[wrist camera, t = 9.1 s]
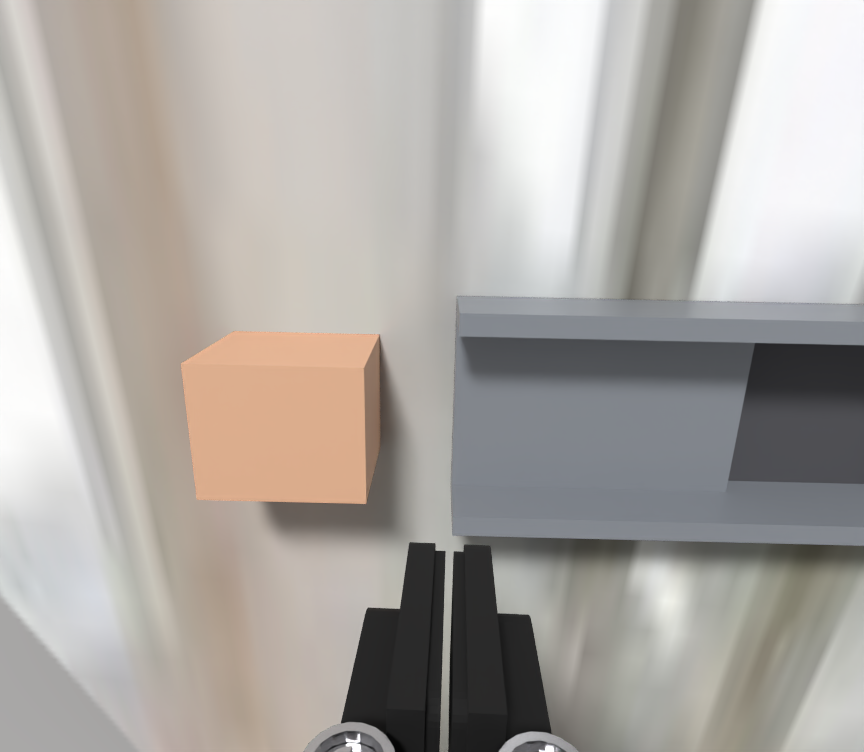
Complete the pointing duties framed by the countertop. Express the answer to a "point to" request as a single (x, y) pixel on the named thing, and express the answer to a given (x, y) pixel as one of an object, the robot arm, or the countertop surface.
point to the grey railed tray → (658, 420)
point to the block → (284, 417)
